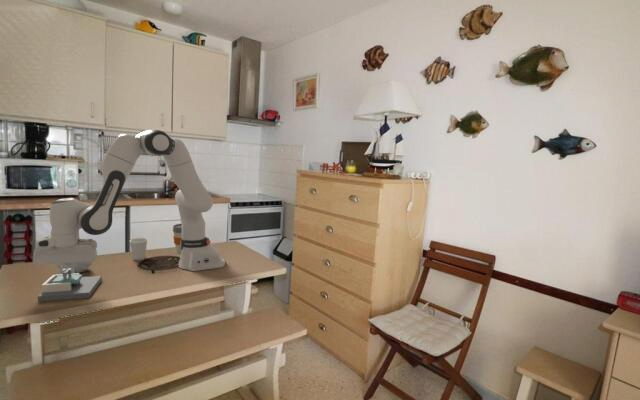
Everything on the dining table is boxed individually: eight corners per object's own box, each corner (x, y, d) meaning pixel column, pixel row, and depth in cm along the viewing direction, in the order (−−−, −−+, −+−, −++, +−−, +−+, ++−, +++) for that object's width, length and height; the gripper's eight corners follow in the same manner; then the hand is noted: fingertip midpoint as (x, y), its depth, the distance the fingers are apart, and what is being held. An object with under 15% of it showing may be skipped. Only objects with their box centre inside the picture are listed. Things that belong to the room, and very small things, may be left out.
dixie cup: (130, 256, 178) (130, 238, 176) (148, 255, 181) (147, 237, 180) (129, 261, 170) (128, 242, 169) (147, 260, 174) (147, 241, 172)
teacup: (57, 272, 152) (56, 255, 151) (83, 265, 161) (82, 249, 160) (74, 278, 145) (73, 261, 144) (100, 271, 155) (99, 255, 154)
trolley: (82, 280, 137) (81, 267, 137) (77, 285, 132) (76, 272, 131) (58, 281, 135) (57, 268, 134) (52, 287, 129) (51, 273, 128)
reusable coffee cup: (199, 248, 198) (199, 224, 196) (191, 255, 185) (191, 228, 183) (178, 247, 198) (178, 222, 196) (168, 254, 185) (168, 227, 183)
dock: (101, 280, 145) (101, 269, 145) (89, 297, 129) (88, 285, 128) (57, 283, 140) (56, 271, 139) (38, 301, 123) (37, 288, 122)
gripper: (98, 236, 137) (100, 269, 139) (37, 238, 130) (39, 272, 132) (94, 240, 132) (95, 274, 133) (29, 242, 125) (32, 278, 126)
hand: (67, 273), depth 133 cm, fingers closed on trolley
